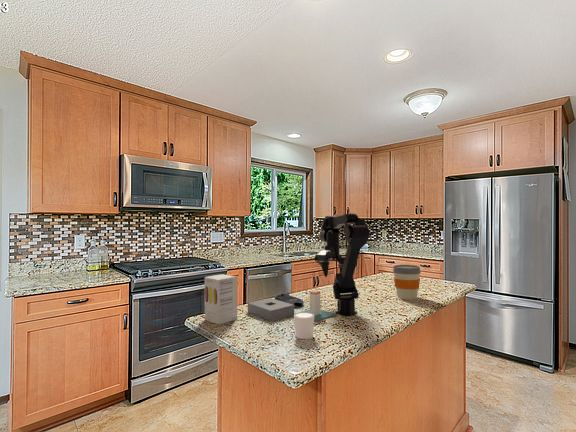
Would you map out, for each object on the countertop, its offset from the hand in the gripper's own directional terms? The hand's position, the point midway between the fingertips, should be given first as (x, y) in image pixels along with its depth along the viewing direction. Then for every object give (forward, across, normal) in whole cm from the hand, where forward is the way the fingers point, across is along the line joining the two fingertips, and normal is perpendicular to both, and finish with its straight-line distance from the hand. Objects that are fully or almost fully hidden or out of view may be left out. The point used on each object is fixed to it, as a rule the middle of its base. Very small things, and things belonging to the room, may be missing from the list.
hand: (333, 278), depth 143 cm
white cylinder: (+12, +19, -36) cm, 42 cm away
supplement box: (+12, -16, -48) cm, 52 cm away
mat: (+12, +5, -17) cm, 21 cm away
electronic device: (+13, -15, -13) cm, 24 cm away
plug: (+12, +5, -17) cm, 21 cm away
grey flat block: (+12, -9, -29) cm, 33 cm away
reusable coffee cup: (+12, +15, +36) cm, 41 cm away
